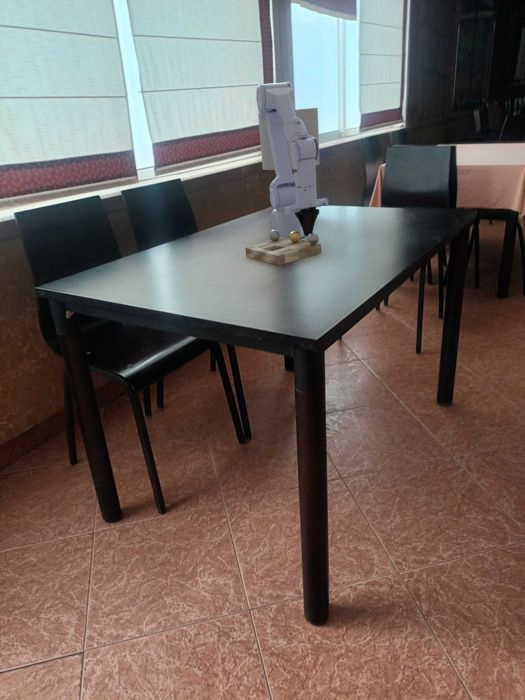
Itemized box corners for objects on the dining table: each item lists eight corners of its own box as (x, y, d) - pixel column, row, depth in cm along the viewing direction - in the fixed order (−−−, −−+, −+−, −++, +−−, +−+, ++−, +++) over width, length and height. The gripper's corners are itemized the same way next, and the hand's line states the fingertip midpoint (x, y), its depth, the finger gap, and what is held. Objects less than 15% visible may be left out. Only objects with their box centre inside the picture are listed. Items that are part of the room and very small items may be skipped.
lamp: (270, 214, 194) (262, 111, 179) (322, 211, 191) (318, 105, 175) (263, 225, 176) (253, 111, 161) (320, 222, 173) (316, 105, 157)
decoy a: (267, 241, 143) (266, 230, 142) (276, 238, 145) (275, 227, 143) (274, 242, 141) (273, 231, 139) (283, 240, 142) (282, 229, 141)
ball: (287, 242, 139) (286, 231, 138) (295, 240, 141) (295, 229, 139) (294, 244, 137) (293, 232, 135) (303, 241, 138) (302, 230, 137)
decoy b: (304, 245, 135) (304, 233, 133) (313, 242, 136) (313, 231, 135) (312, 246, 132) (312, 235, 131) (321, 244, 134) (321, 232, 133)
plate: (246, 256, 139) (245, 247, 138) (287, 245, 147) (286, 236, 146) (278, 265, 128) (278, 255, 127) (321, 252, 136) (321, 243, 135)
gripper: (295, 191, 128) (297, 242, 134) (335, 182, 136) (336, 232, 142) (278, 189, 134) (281, 239, 140) (317, 181, 141) (319, 229, 147)
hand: (308, 235), depth 141 cm, fingers closed
